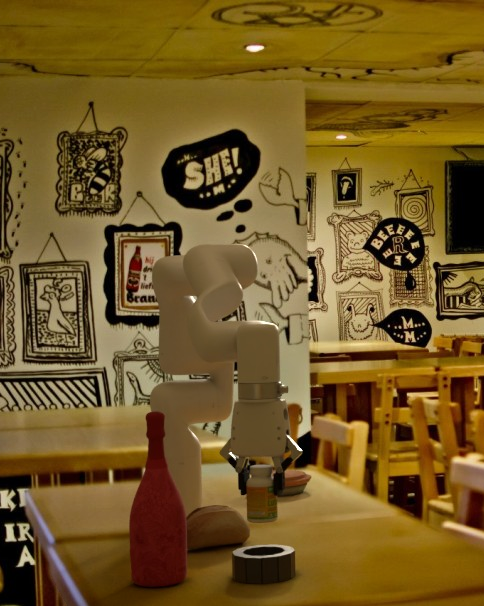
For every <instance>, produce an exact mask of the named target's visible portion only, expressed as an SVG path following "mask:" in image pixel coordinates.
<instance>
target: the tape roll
mask: <svg viewBox="0 0 484 606" xmlns="http://www.w3.org/2000/svg"><path fill="white" fill-rule="evenodd" d="M231 567H232V568H231V571H232V572H231V573H232V574H231V575H232V577H231V578H232V579H233V580H234V581H235V582H238V583H243V584H248V585H249V584H250V585H252V584H253V585H255V584H256V585H262V584H265V585H266V584H275V583H280V582H281V583H282V582H285V581H288V580H291V579H292V578H294V577H295V576H296V550H295V549H294V548H293V547H292V546H289V545H283V544H257V545H255V544H254V545H248V546H244V547H240V548H236V549H235V550H233V551H231Z"/></svg>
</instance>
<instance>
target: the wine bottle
mask: <svg viewBox="0 0 484 606" xmlns="http://www.w3.org/2000/svg"><path fill="white" fill-rule="evenodd" d="M164 422H165V415H164V413H163V412H160V411H153V412H151V411H149V412H147V413H146V414H145V423H146V432H145V436H146V438H147V440H148V441H147V442H148V444H147V457H146V461H145V466H144V472H143V474H142V477H141V480H140V482H139V484H138V487H137V489H136V492H135V494H134V497H133V500H132V503H131V508H130V511H129V512H130V513H129V522H128V524H129V525H128V529H129V530H128V531H129V533H128V535H129V537H128V538H129V560H130V573H131V580H132V582H133V583H134V584H135V585H137V586H140V587H144V588H161V587H163V588H164V587H168V586H175V585H177V584H180V583H181V582H183V581H185V579H186V578H187V575H188V549H187V522H186V513H185V508H184V505H183V502H182V499H181V496H180V494H179V491H178V489H177V487H176V485H175V483H174V481H173V479H172V476H171V474H170V472H169V470H168V464H167V460H166V458H165V452H164V437H165V435H166V432H165V429H164Z"/></svg>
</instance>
